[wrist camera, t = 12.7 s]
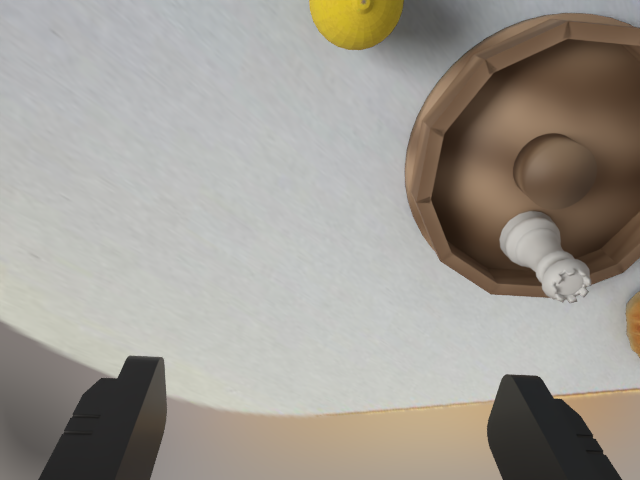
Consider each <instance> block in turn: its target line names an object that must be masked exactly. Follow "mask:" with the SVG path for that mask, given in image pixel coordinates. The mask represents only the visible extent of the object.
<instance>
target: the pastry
mask: <svg viewBox="0 0 640 480" xmlns="http://www.w3.org/2000/svg"><path fill="white" fill-rule="evenodd" d="M626 321H627V336H628V338H629V341H630V346H631V348H632V350H633V351H634V352H636V353H637V354H638V356H639V358H640V291H639V292H638V293H636V294H635V295H634V296H633V297H632V298H631V299H630V301H629V302H628V303H627V305H626Z"/></svg>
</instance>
